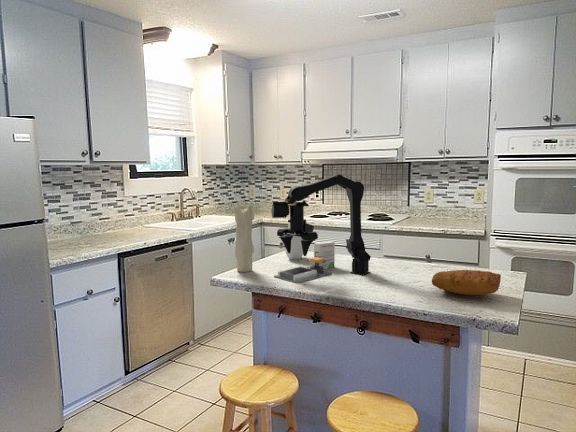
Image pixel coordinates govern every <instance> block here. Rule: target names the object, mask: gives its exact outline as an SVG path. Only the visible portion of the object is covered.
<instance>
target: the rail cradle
mask: <svg viewBox="0 0 576 432" xmlns="http://www.w3.org/2000/svg"><path fill="white" fill-rule="evenodd" d="M332 274H333V272H331V271H328V270H324V269H323V266H319V267H315V266H314V265H311V266H310V267H304V266H296V267H293V268H292V267H291V268H288V269H283V270H280V271H278V272H277V274H276V275H273V278H274V279H275V278H276V279H280V280H283V281H288V282H291V283H295V284H302V283H303V282H308V281H312V280H315V279H319V278H322V277H326V276H329V275H332Z"/></svg>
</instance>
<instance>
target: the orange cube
mask: <svg viewBox="0 0 576 432" xmlns="http://www.w3.org/2000/svg"><path fill="white" fill-rule="evenodd" d="M323 261H324V258H319V257H315V258H314V257H311V258H309V262H311V263H314V262H315V267H319V262H323Z"/></svg>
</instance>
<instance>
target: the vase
mask: <svg viewBox="0 0 576 432" xmlns="http://www.w3.org/2000/svg"><path fill="white" fill-rule="evenodd" d="M233 207H234V209H235V216H234V220H235V223H236V230H235V251H234V257H235V258H236V269H237V270H236V271H237V272H240V273H246V272H252V271H253V253H254V252H255V248H254V245H253V244H254V243H253V239H252V234H253V233H252V232H253V221H254V219H255V213H254V211H253V204H251V203H250V204H249V205H234V206H233Z"/></svg>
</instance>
